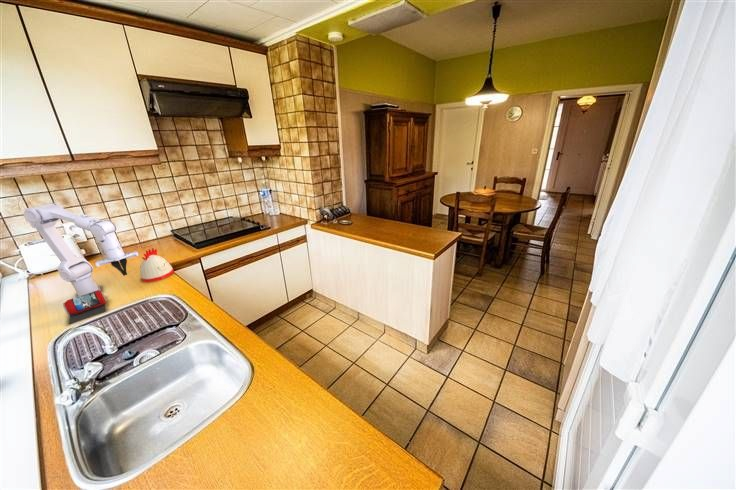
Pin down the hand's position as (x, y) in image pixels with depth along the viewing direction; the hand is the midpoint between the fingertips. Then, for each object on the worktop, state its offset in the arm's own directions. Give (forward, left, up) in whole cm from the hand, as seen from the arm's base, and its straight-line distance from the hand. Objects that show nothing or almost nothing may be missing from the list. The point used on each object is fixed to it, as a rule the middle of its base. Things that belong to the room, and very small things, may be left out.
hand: (125, 274), depth 122 cm
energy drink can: (-67, -6, -11) cm, 68 cm away
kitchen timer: (-14, +11, -11) cm, 21 cm away
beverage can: (+1, -9, -7) cm, 11 cm away
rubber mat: (+1, -16, -10) cm, 19 cm away
